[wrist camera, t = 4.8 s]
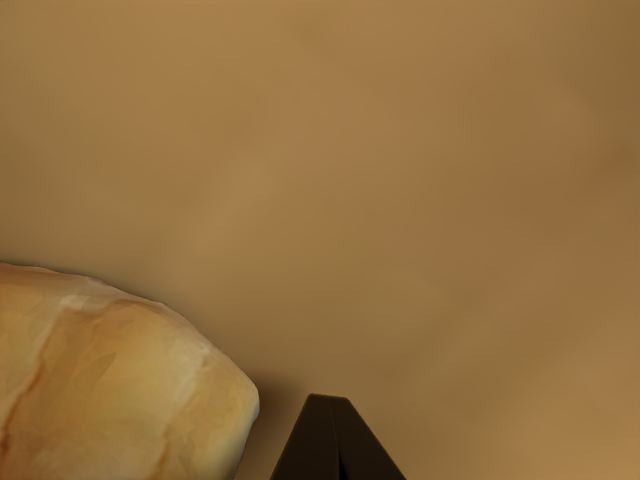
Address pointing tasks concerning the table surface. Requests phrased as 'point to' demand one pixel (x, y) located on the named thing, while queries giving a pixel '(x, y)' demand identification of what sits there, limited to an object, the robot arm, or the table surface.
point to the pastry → (112, 386)
